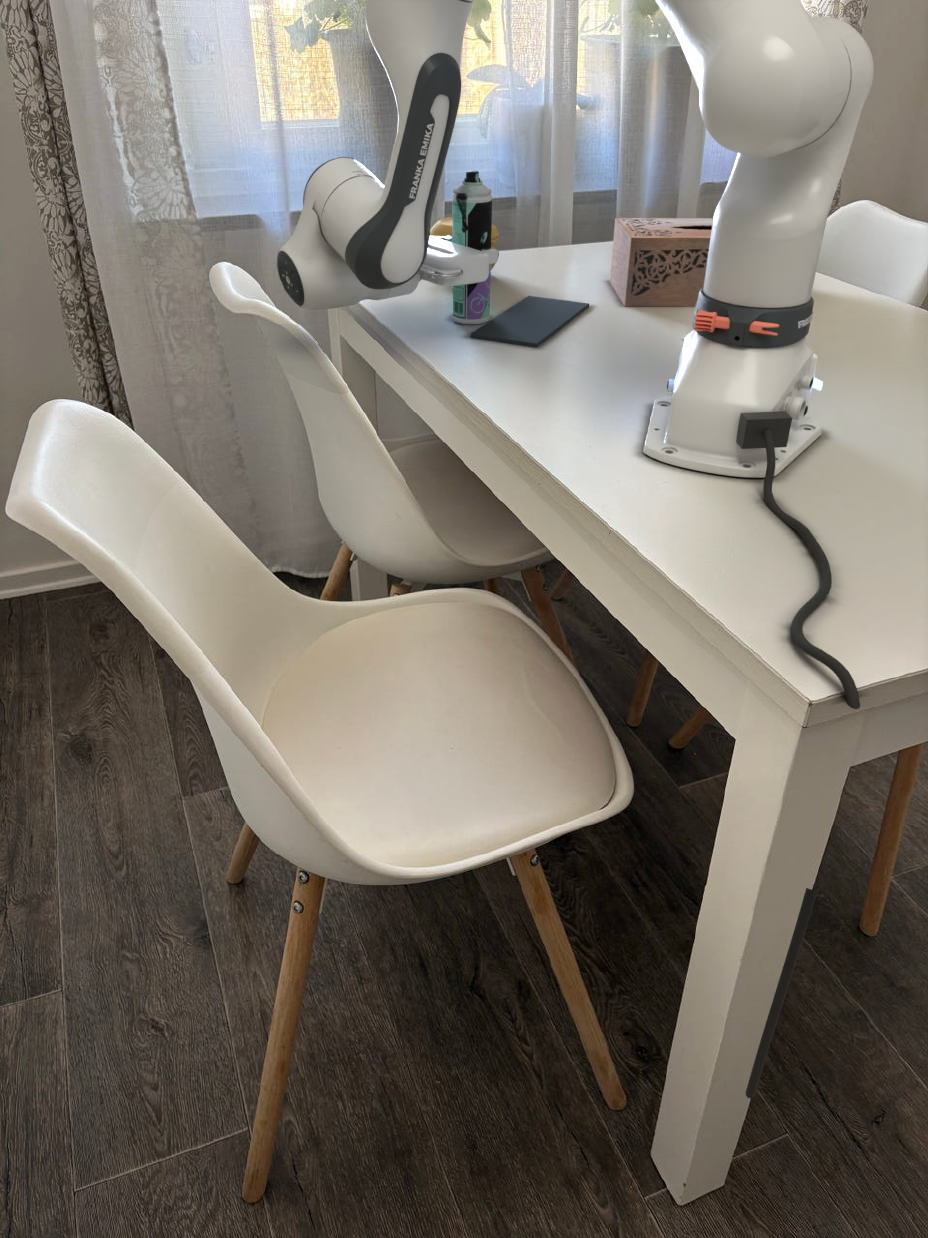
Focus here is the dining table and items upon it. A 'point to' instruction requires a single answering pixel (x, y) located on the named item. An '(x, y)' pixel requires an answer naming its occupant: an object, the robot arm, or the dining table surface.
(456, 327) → the dining table surface
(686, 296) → the tissue box cover
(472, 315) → the spray can
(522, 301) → the mat
